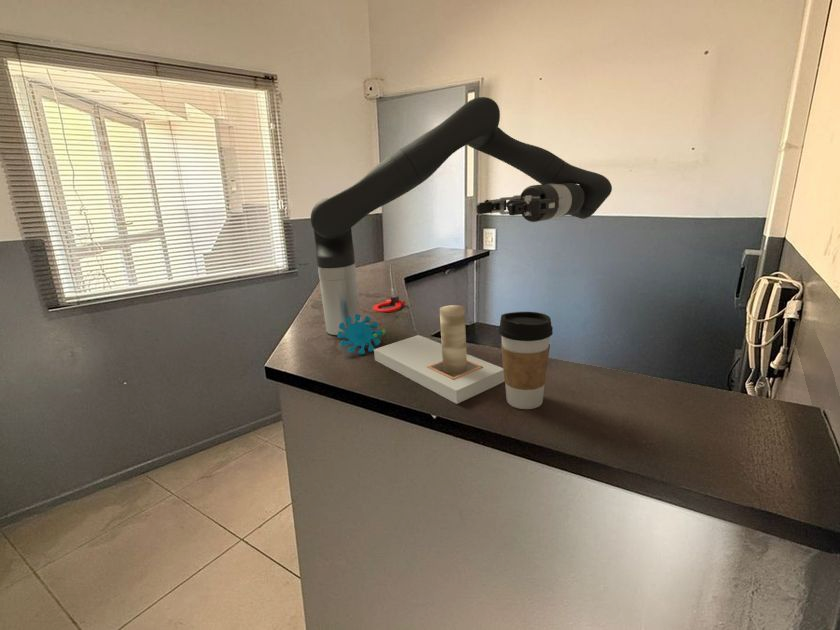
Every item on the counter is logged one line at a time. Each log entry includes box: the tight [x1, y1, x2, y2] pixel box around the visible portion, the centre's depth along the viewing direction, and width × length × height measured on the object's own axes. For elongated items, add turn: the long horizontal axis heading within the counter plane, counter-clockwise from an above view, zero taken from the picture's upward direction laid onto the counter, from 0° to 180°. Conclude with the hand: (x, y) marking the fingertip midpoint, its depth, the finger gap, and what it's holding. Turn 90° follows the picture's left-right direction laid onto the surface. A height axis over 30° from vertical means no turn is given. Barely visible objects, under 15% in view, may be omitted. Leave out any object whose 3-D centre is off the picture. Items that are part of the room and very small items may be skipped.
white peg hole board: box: [373, 334, 505, 405], centre depth 87 cm, size 26×12×3 cm, turn 38°
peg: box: [439, 304, 468, 377], centre depth 80 cm, size 4×4×14 cm
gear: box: [336, 314, 387, 356], centre depth 101 cm, size 11×6×10 cm
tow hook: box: [372, 263, 406, 314], centre depth 128 cm, size 8×13×9 cm
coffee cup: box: [498, 311, 554, 410], centre depth 71 cm, size 8×8×15 cm
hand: (493, 209), depth 85 cm, fingers open, 8 cm apart
